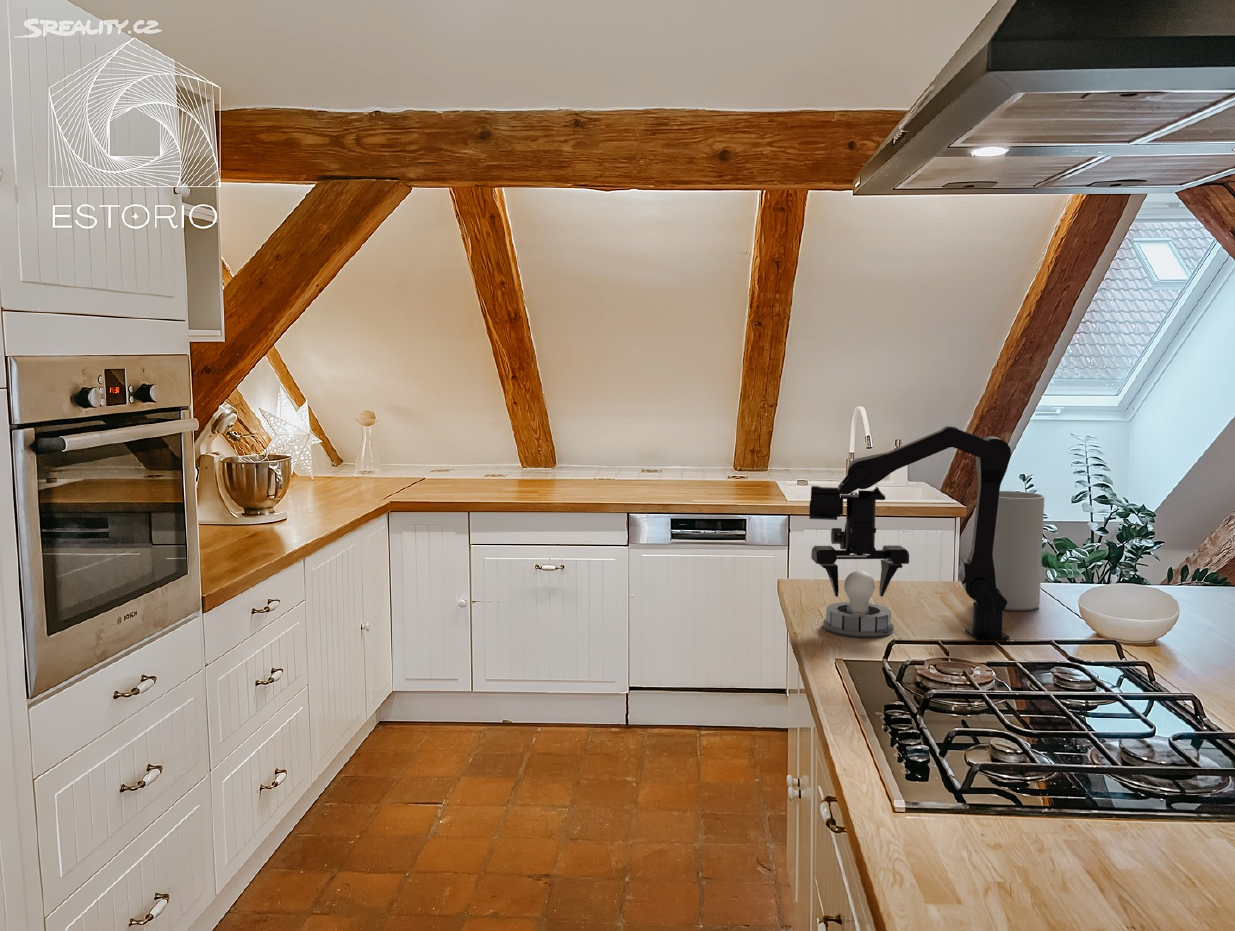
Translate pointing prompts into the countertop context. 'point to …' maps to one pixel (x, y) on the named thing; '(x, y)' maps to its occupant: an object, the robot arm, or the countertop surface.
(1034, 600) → the cylinder vase
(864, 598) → the lightbulb
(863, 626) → the socket
